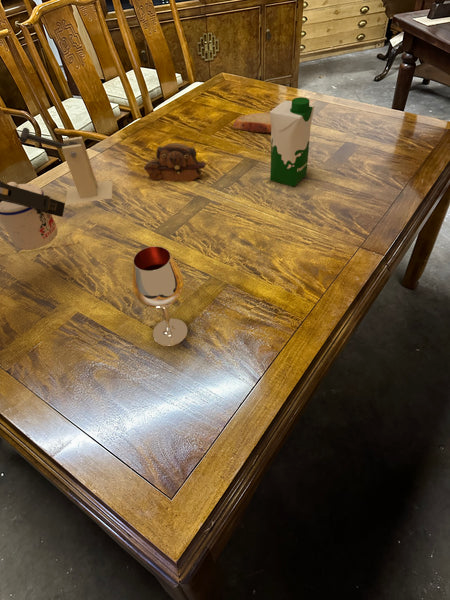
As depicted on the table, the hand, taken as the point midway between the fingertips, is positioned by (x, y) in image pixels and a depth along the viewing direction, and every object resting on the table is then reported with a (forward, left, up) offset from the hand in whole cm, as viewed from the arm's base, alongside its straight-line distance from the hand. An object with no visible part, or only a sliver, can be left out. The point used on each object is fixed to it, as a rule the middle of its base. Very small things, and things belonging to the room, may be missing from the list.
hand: (41, 206), depth 82 cm
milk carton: (+39, +45, -15) cm, 62 cm away
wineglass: (+31, -12, -15) cm, 36 cm away
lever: (-14, +22, 0) cm, 26 cm away
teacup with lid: (-1, -3, -4) cm, 5 cm away
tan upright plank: (-9, +24, -15) cm, 30 cm away
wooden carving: (+11, +36, -15) cm, 41 cm away
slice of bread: (+26, +72, -15) cm, 78 cm away
